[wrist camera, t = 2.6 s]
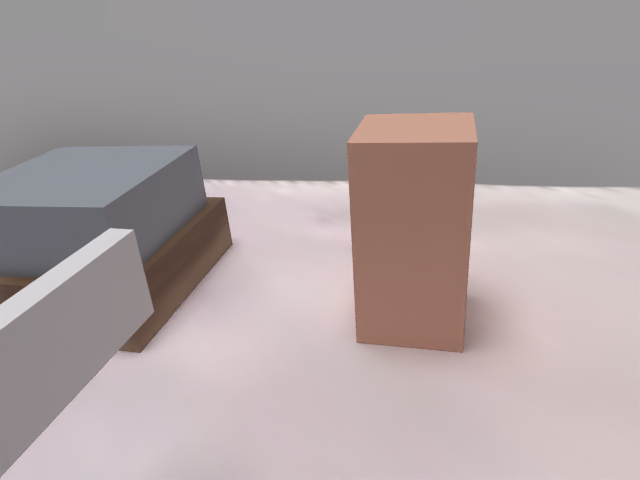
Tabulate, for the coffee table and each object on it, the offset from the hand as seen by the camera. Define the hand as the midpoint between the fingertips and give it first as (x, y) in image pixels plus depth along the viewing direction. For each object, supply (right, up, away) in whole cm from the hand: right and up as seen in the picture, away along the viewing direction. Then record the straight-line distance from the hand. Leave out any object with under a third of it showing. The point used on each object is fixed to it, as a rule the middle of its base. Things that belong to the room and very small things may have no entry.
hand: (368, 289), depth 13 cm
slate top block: (-15, +2, +17) cm, 22 cm away
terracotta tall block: (+4, -3, +13) cm, 14 cm away
